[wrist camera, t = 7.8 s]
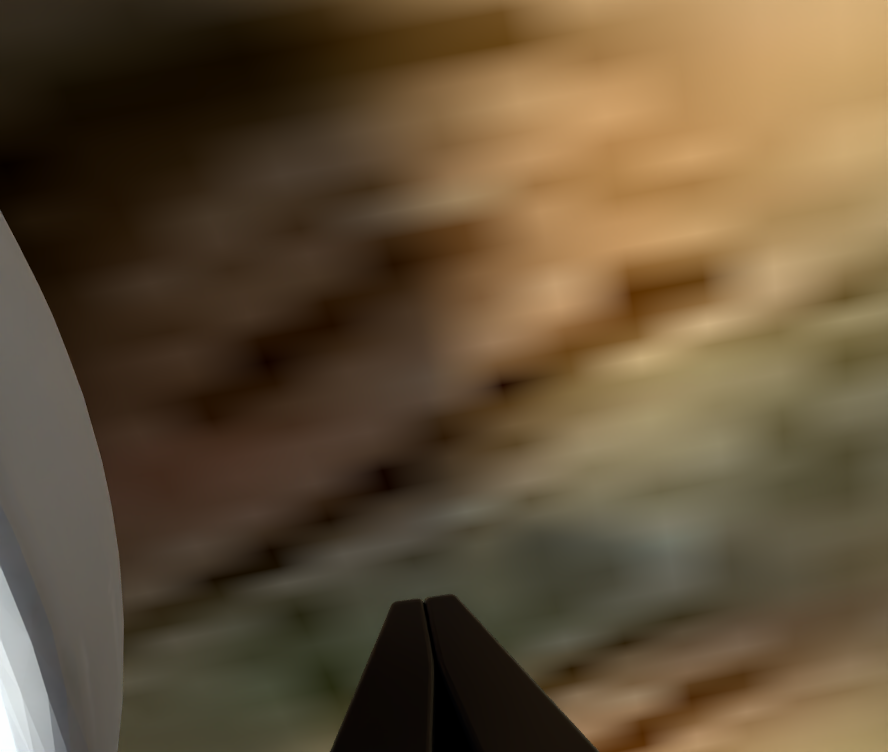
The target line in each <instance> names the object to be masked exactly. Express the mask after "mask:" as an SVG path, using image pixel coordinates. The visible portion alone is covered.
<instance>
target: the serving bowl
mask: <svg viewBox="0 0 888 752" xmlns="http://www.w3.org/2000/svg"><path fill="white" fill-rule="evenodd" d="M123 652H124V615H123V601H122V586H121V572H120V557H119V551H118V544H117V538H116V531H115V525H114V518H113V512H112V505H111V500H110V496H109V491H108V486H107V482H106V477H105V472H104V468H103V463H102V459H101V455H100V452H99V448H98V445H97V441H96V438H95V435H94V431H93V428H92V424H91V421H90V417H89V414H88V410H87V407H86V403H85V400H84V396H83V394H82V391H81V388H80V385H79V383H78V380H77V377H76V375H75V372H74V369H73V366H72V364H71V361H70V358H69V356H68V353H67V350H66V348H65V345H64V343H63V340H62V338H61V335H60V333H59V330H58V327H57V325H56V322H55V320H54V317H53V315H52V313H51V311H50V308H49V306H48V304H47V302H46V300H45V298H44V296H43V293H42V291H41V289H40V287H39V285H38V283H37V281H36V279H35V277H34V275H33V273H32V271H31V269H30V267H29V265H28V263H27V261H26V259H25V257H24V255H23V253H22V251H21V249H20V247H19V245H18V243H17V241H16V239H15V237H14V235H13V233H12V232H11V230H10V228H9V226H8V224H7V222H6V220H5V218H4V216H3V215H2V213H1V211H0V752H118V743H119V733H120V724H121V714H122V704H123Z"/></svg>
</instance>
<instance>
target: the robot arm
mask: <svg viewBox="0 0 888 752" xmlns="http://www.w3.org/2000/svg"><path fill="white" fill-rule="evenodd" d="M330 752H599V751H598V750H597V749H596V748H595V747H594V746H593V744H592V743H591V742H590V741H589V740H588V739H587V738H586V737H585V736H584V735H583V734H582V733H581V731H580V730H579V729H578V728H577V727H576V726H575V725H574V724H573V723H572V722H571V721H570V719H569V718H568V717H567V716H566V715H565V714H564V713H563V712H562V711H561V710H560V709H559V708H558V706H557V705H556V704H555V703H554V702H553V701H552V700H551V699H550V698H549V697H548V696H547V694H546V693H545V692H544V691H543V690H542V689H541V688H540V687H539V686H538V685H537V684H536V682H535V681H534V680H533V679H532V678H531V677H530V676H529V675H528V674H527V673H526V672H525V671H524V669H523V668H522V667H521V666H520V665H519V664H518V663H517V662H516V661H515V660H514V659H513V657H512V656H511V655H510V654H509V653H508V652H507V651H506V650H505V649H504V648H503V647H502V646H501V644H500V643H499V642H498V641H497V640H496V639H495V638H494V637H493V636H492V635H491V634H490V632H489V631H488V630H487V629H486V628H485V627H484V626H483V625H482V624H481V623H480V622H479V620H478V619H477V618H476V617H475V616H474V615H473V614H472V613H471V612H470V611H469V610H468V609H467V607H466V606H465V605H464V604H463V603H462V602H461V601H460V600H459V599H458V598H457V597H456V596H455V595H453V594H447V595H440V596H432V597H427V598H426V599H425V601H424V602H423V601H422V600H421V599H418V598H417V599H410V600H402V601H396V602H394V603H393V604H392V605H391V607H390V609H389V612H388V614H387V617H386V619H385V621H384V624H383V626H382V629H381V631H380V633H379V636H378V638H377V640H376V643H375V645H374V648H373V650H372V652H371V655H370V657H369V660H368V662H367V664H366V667H365V669H364V672H363V674H362V676H361V679H360V681H359V684H358V686H357V688H356V691H355V693H354V696H353V698H352V700H351V703H350V705H349V707H348V710H347V712H346V715H345V717H344V719H343V722H342V724H341V727H340V729H339V731H338V734H337V736H336V739H335V741H334V743H333V746H332V748H331V751H330Z"/></svg>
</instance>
